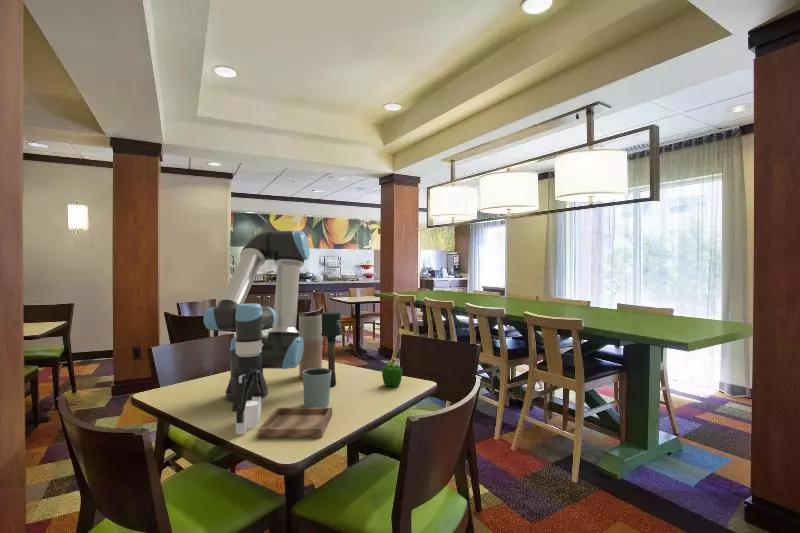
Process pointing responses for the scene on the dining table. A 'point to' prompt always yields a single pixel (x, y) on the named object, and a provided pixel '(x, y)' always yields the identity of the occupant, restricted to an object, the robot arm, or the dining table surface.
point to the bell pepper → (391, 374)
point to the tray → (296, 423)
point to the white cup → (252, 414)
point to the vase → (310, 341)
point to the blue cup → (316, 387)
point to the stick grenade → (331, 338)
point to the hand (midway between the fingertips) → (249, 424)
